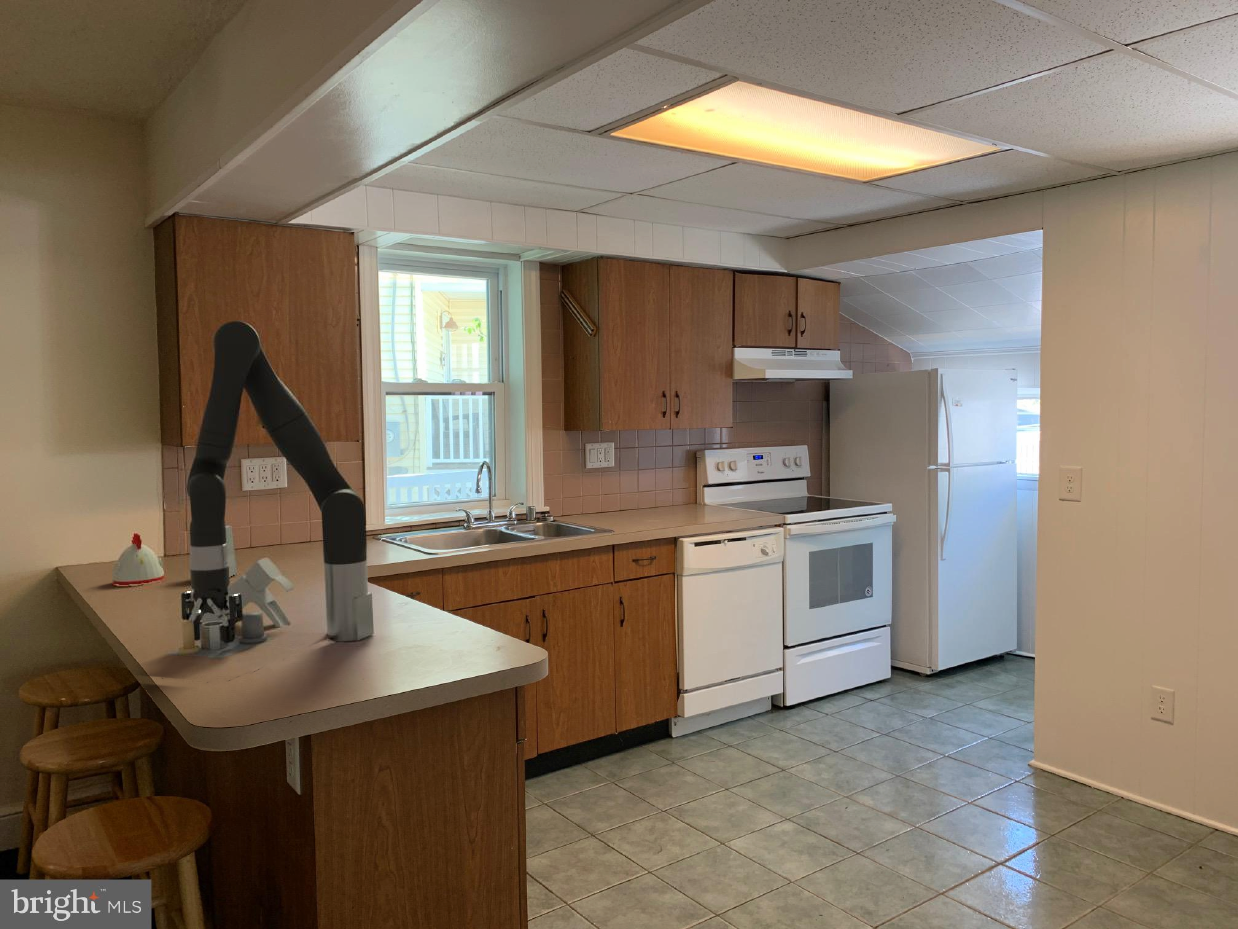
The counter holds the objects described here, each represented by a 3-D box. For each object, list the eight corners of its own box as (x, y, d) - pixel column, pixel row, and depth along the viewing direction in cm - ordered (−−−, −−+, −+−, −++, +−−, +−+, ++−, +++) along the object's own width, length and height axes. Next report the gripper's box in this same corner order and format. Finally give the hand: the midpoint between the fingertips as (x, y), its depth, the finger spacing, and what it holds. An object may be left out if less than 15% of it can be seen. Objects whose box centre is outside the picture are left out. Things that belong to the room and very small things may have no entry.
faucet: (208, 606, 218) (269, 553, 216) (253, 658, 218) (313, 606, 216) (194, 613, 212) (256, 558, 210) (240, 666, 212) (302, 612, 210)
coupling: (234, 644, 196) (232, 621, 196) (215, 651, 191) (214, 627, 191) (213, 642, 198) (212, 620, 198) (195, 649, 193) (193, 626, 193)
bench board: (274, 643, 201) (272, 609, 200) (221, 664, 186) (219, 627, 185) (222, 639, 205) (220, 606, 205) (167, 659, 190) (164, 623, 190)
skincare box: (237, 575, 285) (234, 525, 284) (225, 579, 278) (222, 528, 277) (211, 575, 286) (208, 525, 285) (199, 580, 279) (196, 528, 278)
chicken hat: (119, 589, 268) (116, 538, 267) (108, 582, 278) (105, 534, 277) (170, 582, 277) (167, 533, 276) (157, 576, 287) (154, 529, 286)
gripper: (249, 563, 195) (252, 638, 196) (196, 561, 199) (199, 634, 200) (224, 570, 188) (227, 648, 189) (169, 567, 192) (173, 643, 193)
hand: (213, 641), depth 195 cm, fingers open, 8 cm apart
